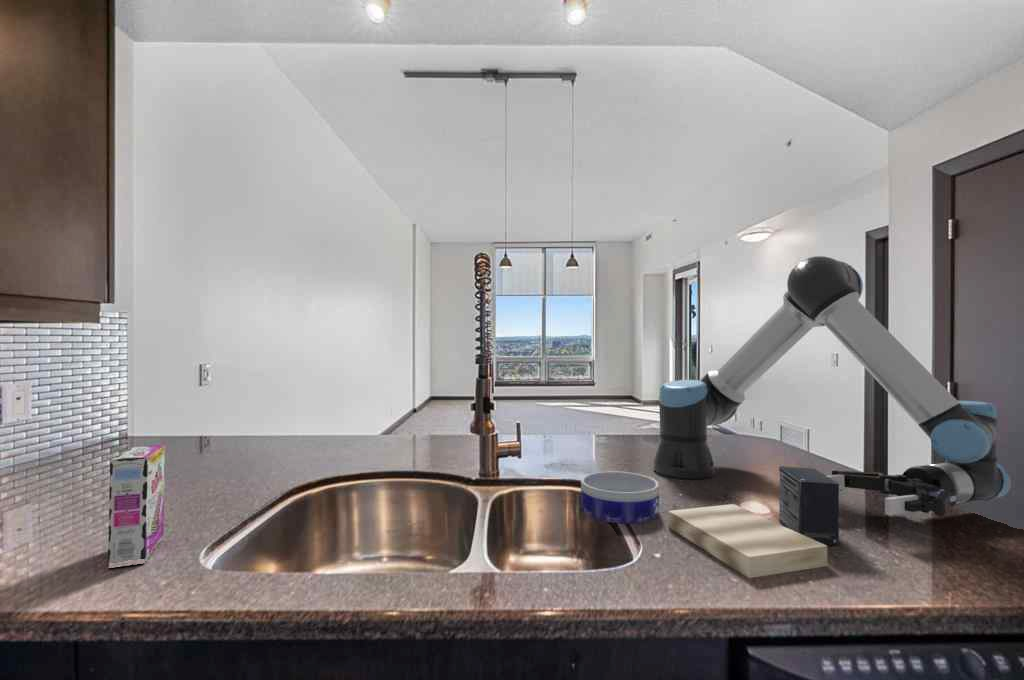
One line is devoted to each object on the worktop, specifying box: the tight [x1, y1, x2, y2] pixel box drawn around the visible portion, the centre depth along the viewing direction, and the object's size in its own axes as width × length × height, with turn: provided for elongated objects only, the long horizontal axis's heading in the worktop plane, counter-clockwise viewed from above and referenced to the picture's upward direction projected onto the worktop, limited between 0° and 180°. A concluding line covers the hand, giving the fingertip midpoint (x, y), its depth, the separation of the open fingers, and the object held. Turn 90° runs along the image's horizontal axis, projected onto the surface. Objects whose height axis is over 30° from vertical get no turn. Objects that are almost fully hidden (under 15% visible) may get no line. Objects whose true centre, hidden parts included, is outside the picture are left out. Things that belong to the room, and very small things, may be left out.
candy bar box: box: [107, 445, 166, 564], centre depth 79 cm, size 11×5×16 cm, turn 23°
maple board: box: [667, 503, 828, 579], centre depth 81 cm, size 20×14×3 cm
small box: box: [778, 465, 840, 546], centre depth 86 cm, size 11×6×10 cm, turn 168°
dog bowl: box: [580, 470, 660, 525], centre depth 98 cm, size 15×15×6 cm
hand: (848, 494), depth 88 cm, fingers open, 13 cm apart
